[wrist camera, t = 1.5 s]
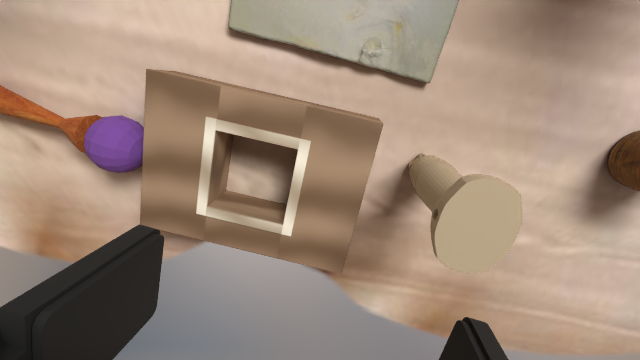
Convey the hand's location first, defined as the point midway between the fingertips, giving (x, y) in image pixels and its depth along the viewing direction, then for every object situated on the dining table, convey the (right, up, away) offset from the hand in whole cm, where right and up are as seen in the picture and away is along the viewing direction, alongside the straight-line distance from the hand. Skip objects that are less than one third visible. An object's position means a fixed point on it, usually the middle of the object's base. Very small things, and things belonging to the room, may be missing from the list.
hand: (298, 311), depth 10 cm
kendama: (-27, +11, +26) cm, 39 cm away
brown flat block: (-6, +6, +25) cm, 27 cm away
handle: (+12, +5, +24) cm, 27 cm away
